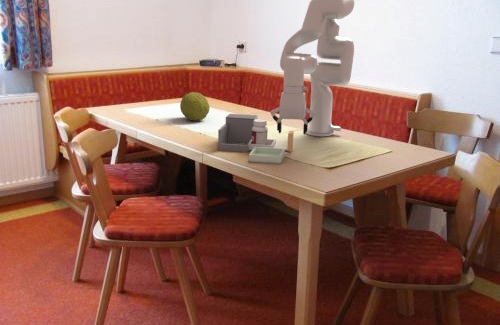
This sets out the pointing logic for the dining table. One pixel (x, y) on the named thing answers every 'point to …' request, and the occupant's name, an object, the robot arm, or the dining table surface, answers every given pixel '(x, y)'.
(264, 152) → the tray
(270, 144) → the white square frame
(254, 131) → the pill bottle
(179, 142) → the dining table surface
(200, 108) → the fruit
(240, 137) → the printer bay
